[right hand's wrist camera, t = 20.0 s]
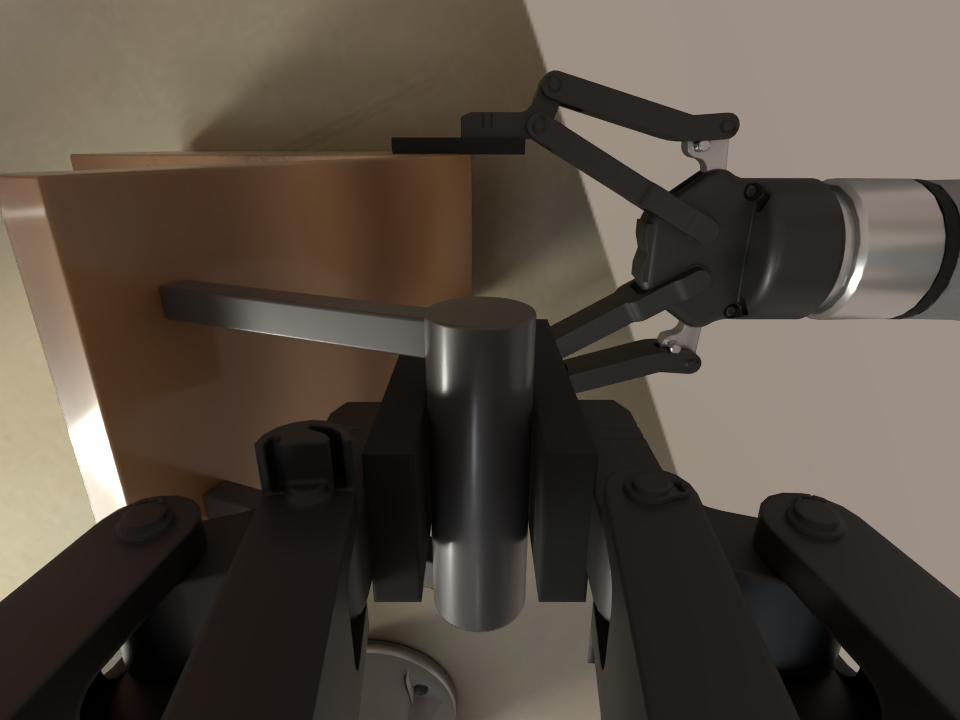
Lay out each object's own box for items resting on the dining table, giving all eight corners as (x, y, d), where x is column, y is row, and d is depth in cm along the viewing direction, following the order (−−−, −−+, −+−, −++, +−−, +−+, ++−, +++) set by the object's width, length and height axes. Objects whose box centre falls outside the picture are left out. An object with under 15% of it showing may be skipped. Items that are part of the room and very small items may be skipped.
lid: (125, 625, 13) (484, 779, 10) (-13, 173, 9) (488, 190, 6) (450, 362, 28) (628, 389, 25) (446, 154, 25) (653, 156, 22)
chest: (207, 306, 38) (120, 361, 28) (178, 151, 34) (68, 154, 25) (463, 305, 38) (461, 359, 29) (461, 151, 34) (459, 154, 25)
